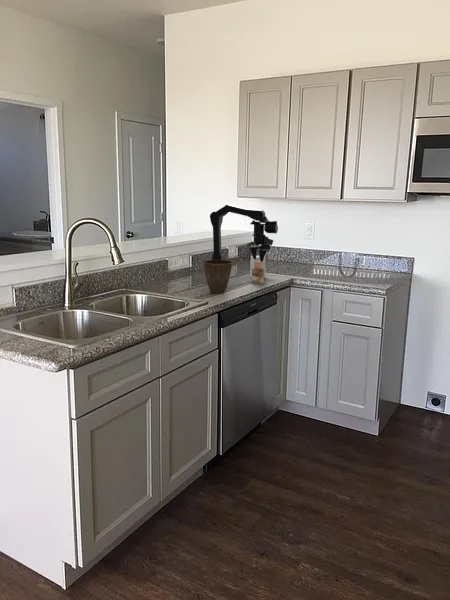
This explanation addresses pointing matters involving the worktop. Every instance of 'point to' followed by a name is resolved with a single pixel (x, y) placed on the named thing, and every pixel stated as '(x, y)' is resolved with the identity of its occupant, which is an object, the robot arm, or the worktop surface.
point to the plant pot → (217, 274)
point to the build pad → (257, 284)
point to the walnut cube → (257, 272)
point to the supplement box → (257, 260)
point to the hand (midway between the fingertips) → (258, 260)
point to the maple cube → (258, 279)
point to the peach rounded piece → (257, 265)
